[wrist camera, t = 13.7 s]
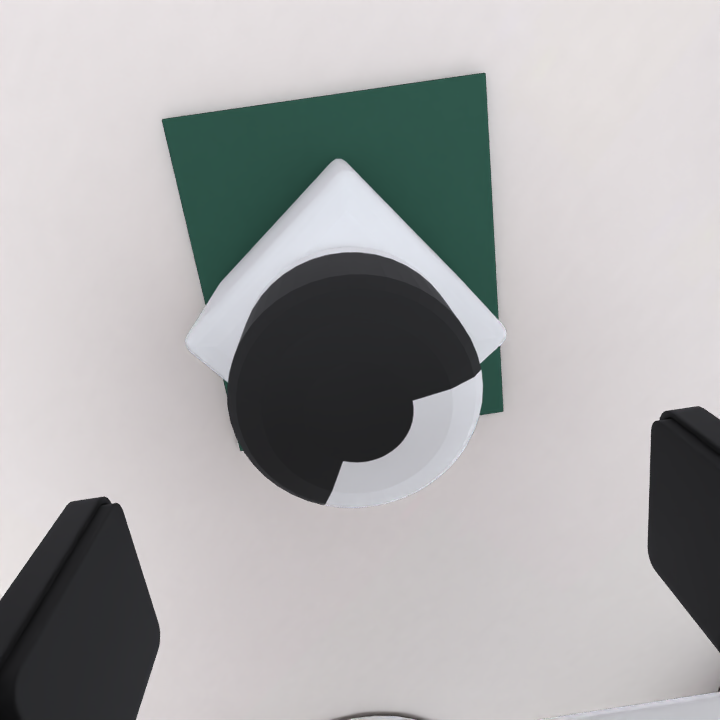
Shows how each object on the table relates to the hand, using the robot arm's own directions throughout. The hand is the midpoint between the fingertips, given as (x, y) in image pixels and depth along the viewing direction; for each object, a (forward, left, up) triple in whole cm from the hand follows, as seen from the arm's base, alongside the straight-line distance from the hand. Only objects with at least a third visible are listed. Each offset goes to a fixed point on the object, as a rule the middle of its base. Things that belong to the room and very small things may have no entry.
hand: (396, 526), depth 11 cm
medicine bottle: (+1, 0, -16) cm, 16 cm away
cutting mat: (+1, 0, -16) cm, 16 cm away
